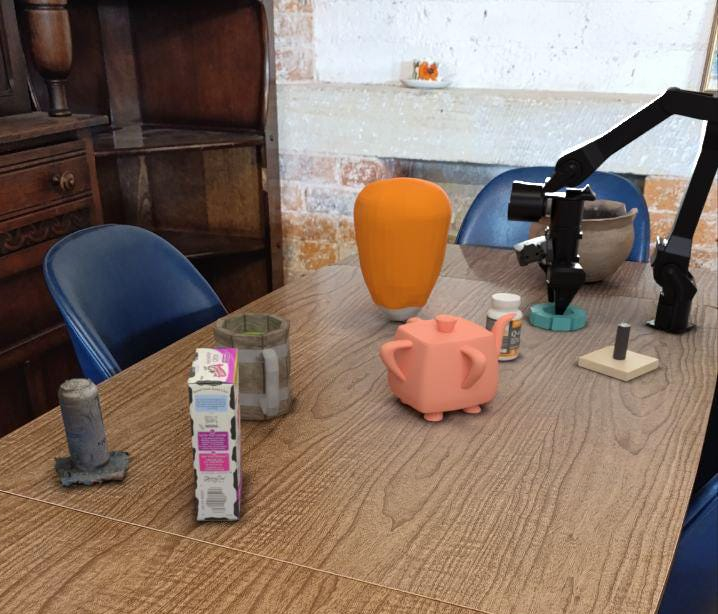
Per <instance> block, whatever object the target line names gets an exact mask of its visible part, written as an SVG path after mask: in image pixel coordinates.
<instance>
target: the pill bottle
mask: <svg viewBox="0 0 718 614" xmlns="http://www.w3.org/2000/svg"><path fill="white" fill-rule="evenodd" d="M521 301H522V298H521V296H520V295H518V294H515V293H509V292H499V293H494V294H492V295H491V298H490V304H491V307H490V308H489V310H488V311H487V313H486V318H485V329H486V330H488V331H490V332H491V330H492V328H493V326H494V324H495V322H496V321H497V320H498V319H499V318H500V317H501V316H503V315H506V314H510V313H517V315H516V316H515V317H514V318H513V319H512V320H511V321H510V322H509V323H508V325H507V326H506V329H505V331H504V335H503V340H502V346H501V352H500V355H499V358H498V361H503V362H504V361H505V362H506V361H511V360H515V359H516V358H518V356H519V352H520V343H521V334H522V324H523V318H524V317H523V312H522V311H521V310H520V309H519V308H520V306H521Z"/></svg>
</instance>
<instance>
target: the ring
mask: <svg viewBox="0 0 718 614" xmlns="http://www.w3.org/2000/svg"><path fill="white" fill-rule="evenodd" d="M587 316H588V315H587V312H586V311H585V309H584V308H582V306H581V307H580V306H578V305H573V304H571V303H570V304H569V306H568V307H567V309H566V311H565V312H564V314H563V315H555V304H554V303H549V302H545V303H544V302H541V303H537V304H534V305H532V306H531V307H529V314H528V320H529V322H530V325H533V326H534V327H537V328H540V329H544V330H551V331H562V332H563V331H565V332H570V331H576V330H579V329H582V328H585V326H586V321H587Z"/></svg>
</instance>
